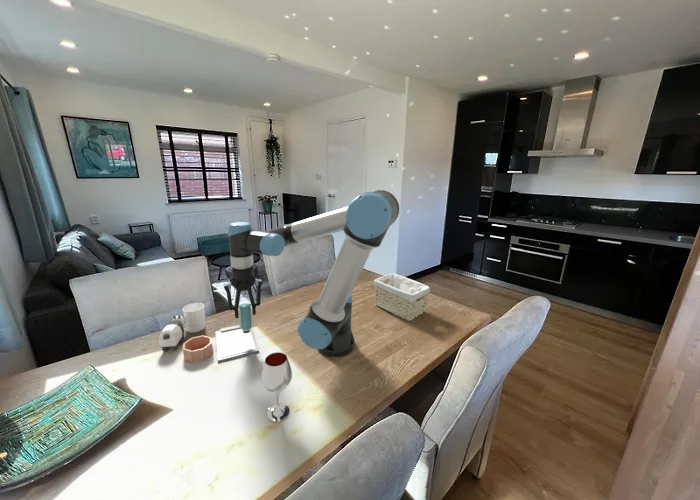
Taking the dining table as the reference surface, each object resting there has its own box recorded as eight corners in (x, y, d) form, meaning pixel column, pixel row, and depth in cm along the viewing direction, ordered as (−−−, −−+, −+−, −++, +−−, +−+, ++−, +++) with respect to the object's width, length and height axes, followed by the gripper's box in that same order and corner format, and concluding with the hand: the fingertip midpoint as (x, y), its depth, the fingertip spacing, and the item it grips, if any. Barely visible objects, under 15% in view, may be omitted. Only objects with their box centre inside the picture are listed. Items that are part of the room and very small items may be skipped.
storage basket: (428, 313, 139) (432, 286, 135) (409, 324, 128) (412, 295, 124) (390, 296, 156) (392, 271, 151) (371, 305, 145) (372, 279, 141)
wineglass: (266, 401, 83) (263, 349, 78) (294, 400, 84) (293, 349, 79) (260, 425, 75) (256, 370, 70) (291, 424, 76) (289, 369, 71)
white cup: (197, 334, 114) (194, 313, 111) (181, 332, 115) (177, 310, 113) (210, 324, 121) (208, 304, 119) (194, 322, 123) (192, 301, 120)
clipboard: (259, 352, 105) (258, 348, 105) (218, 362, 99) (217, 358, 98) (250, 325, 122) (250, 322, 122) (215, 333, 116) (214, 329, 115)
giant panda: (176, 353, 103) (172, 330, 100) (159, 354, 102) (155, 331, 99) (191, 330, 117) (188, 310, 114) (176, 331, 116) (173, 311, 113)
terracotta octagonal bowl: (213, 357, 101) (212, 347, 100) (184, 364, 97) (182, 353, 96) (212, 343, 109) (211, 333, 108) (185, 349, 105) (183, 339, 103)
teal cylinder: (252, 333, 107) (251, 307, 103) (241, 335, 105) (239, 309, 102) (251, 327, 110) (249, 302, 107) (240, 330, 108) (238, 304, 105)
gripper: (264, 260, 106) (266, 314, 113) (216, 265, 99) (221, 323, 106) (268, 266, 100) (270, 323, 107) (217, 272, 93) (222, 333, 99)
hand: (246, 323), depth 106 cm, fingers closed on teal cylinder, 3 cm apart
